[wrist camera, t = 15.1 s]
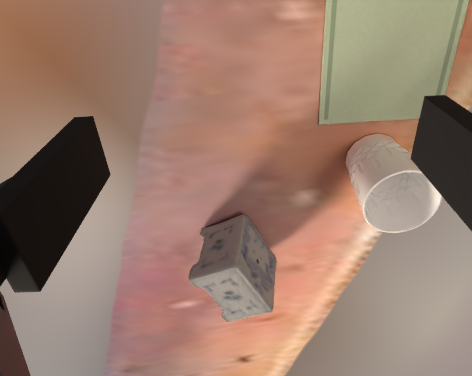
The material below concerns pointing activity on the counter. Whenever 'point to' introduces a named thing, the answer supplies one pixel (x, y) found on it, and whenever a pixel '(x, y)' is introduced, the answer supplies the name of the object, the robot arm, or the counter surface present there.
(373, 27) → the napkin
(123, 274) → the counter surface
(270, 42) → the counter surface
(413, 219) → the white cup
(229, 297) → the incense holder
